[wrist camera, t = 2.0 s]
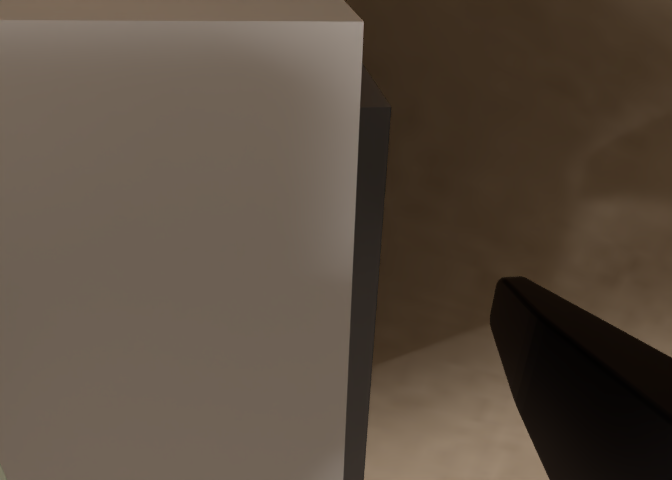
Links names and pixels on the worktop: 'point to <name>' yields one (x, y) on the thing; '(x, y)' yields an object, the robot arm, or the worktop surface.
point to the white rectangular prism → (187, 239)
